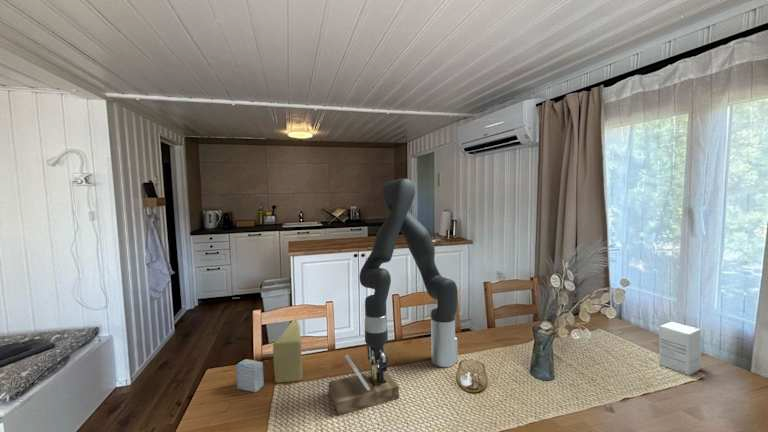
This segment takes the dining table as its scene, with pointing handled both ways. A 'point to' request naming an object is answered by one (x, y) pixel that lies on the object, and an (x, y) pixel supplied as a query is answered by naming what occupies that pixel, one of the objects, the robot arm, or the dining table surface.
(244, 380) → the medicine box
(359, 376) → the steel flap
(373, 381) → the brass peg
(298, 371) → the cheese
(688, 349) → the supplement box
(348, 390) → the walnut block
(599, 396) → the dining table surface
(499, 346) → the dining table surface
